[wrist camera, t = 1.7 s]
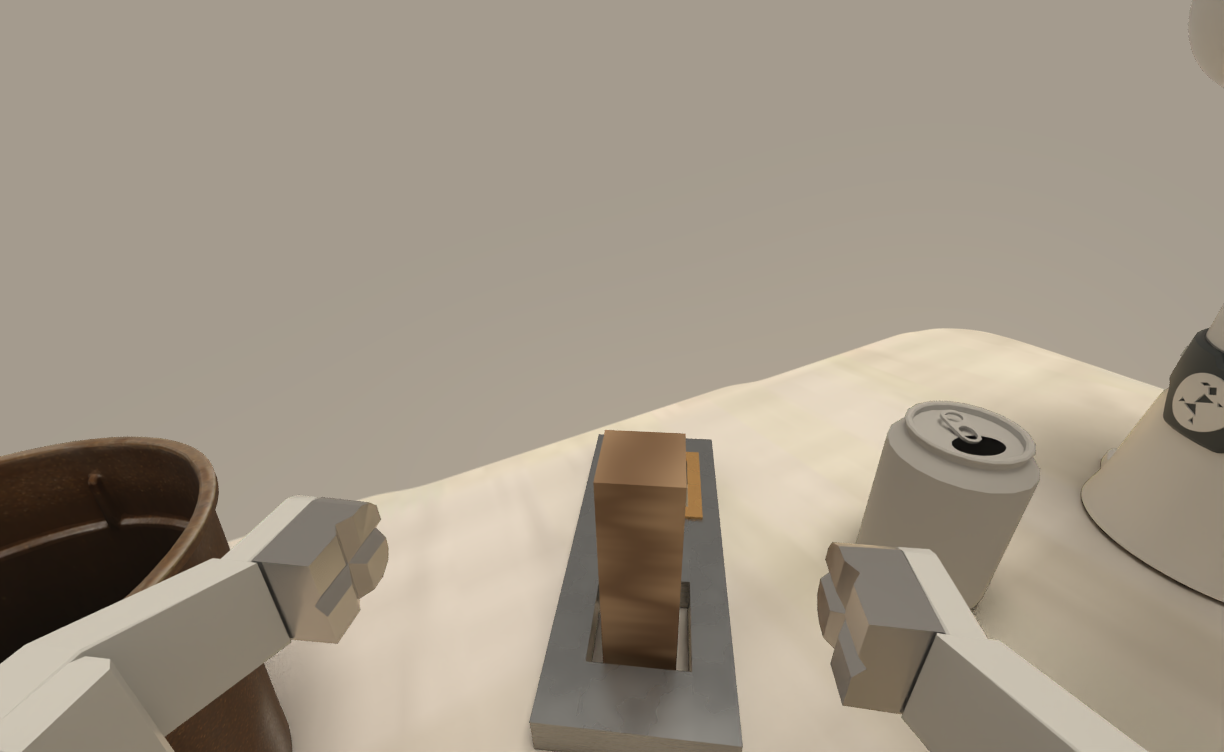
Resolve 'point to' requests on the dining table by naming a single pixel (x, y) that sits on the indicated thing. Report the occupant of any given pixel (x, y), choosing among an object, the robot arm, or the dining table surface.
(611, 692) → the metal plate
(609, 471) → the walnut peg
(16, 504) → the plant pot
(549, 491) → the dining table surface
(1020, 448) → the can
